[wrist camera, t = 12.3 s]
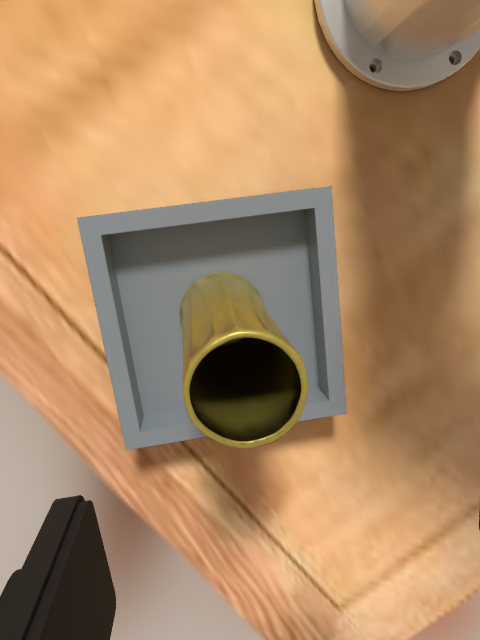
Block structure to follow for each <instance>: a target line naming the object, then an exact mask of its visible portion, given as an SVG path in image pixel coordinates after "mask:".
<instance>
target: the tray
mask: <svg viewBox="0 0 480 640" xmlns="http://www.w3.org/2000/svg"><path fill="white" fill-rule="evenodd" d="M77 220H78V225H79V230H80V235H81V239H82V244H83V249H84V254H85V258H86V263H87V268H88V273H89V277H90V282H91V287H92V292H93V296H94V301H95V306H96V311H97V315H98V320H99V325H100V330H101V334H102V339H103V344H104V349H105V353H106V358H107V363H108V368H109V372H110V377H111V382H112V387H113V391H114V396H115V401H116V406H117V410H118V415H119V420H120V425H121V429H122V434H123V439H124V444H125V448H126V450H131V449H137V448H143V447H149V446H155V445H161V444H167V443H173V442H179V441H185V440H191V439H197V438H203V437H208V436H206V435H205V434H203V433H202V432H201V431H200V430H199V429H198V428H197V427H196V426H195V425H194V423H193V422H192V421H191V419H190V418H189V415H188V413H187V410H186V406H185V402H184V395H183V384H182V377H183V341H182V327H181V323H180V306H181V302H182V299H183V297H184V295H185V293H186V292H187V290H188V289H189V288H190V286H191V285H192V284H193V283H195V282H196V281H197V280H199V279H200V278H202V277H204V276H207V275H210V274H213V273H219V272H225V273H231V274H235V275H238V276H241V277H243V278H244V279H246V280H247V281H249V282H250V283H251V284H252V285H253V286H254V287H255V288H256V289H257V291H258V292H259V293H260V295H261V297H262V301H263V303H264V306H265V308H266V310H267V312H268V314H269V315H270V316H271V318H272V319H273V320H274V321H275V323H276V324H277V326H278V327H279V329H280V330H281V332H282V333H283V335H284V336H285V337H286V338H287V340H288V341H289V342H290V344H291V345H292V346H293V348H294V349H295V350H296V351H298V353H299V354H300V356H301V358H302V360H303V362H304V366H305V370H306V375H307V380H308V395H307V399H306V403H305V406H304V409H303V412H302V414H301V416H300V418H299V419H298V421H297V422H299V421H305V420H311V419H317V418H323V417H329V416H335V415H341V414H347V413H346V398H345V383H344V367H343V352H342V337H341V322H340V307H339V292H338V277H337V262H336V247H335V231H334V216H333V201H332V186H329V187H321V188H313V189H305V190H297V191H289V192H281V193H273V194H264V195H256V196H248V197H240V198H232V199H224V200H216V201H208V202H200V203H192V204H184V205H176V206H168V207H160V208H152V209H144V210H136V211H128V212H120V213H112V214H104V215H96V216H88V217H80V218H77Z"/></svg>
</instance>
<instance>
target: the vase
mask: <svg viewBox="0 0 480 640" xmlns="http://www.w3.org/2000/svg"><path fill="white" fill-rule="evenodd" d="M180 323H181V327H182V341H183V377H182V384H183V395H184V402H185V406H186V410H187V413H188V415H189V418H190V419H191V421H192V422H193V423H194V425H195V426H196V427H197V428H198V429H199V430H200V431H201V432H202V433H203V434H205V435H206V436H208V437H209V438H211V439H213V440H214V441H216V442H218V443H220V444H223V445H226V446H230V447H235V448H245V449H246V448H254V447H258V446H261V445H265V444H268V443H271V442H273V441H275V440H278V439H279V438H281V437H282V436H283V435H285V434H286V433H287V432H288V431H289V430H290V429H291V428H292V427H293V426H294V425H295V424H296V422H297V421H298V419H299V418H300V416H301V414H302V412H303V409H304V406H305V403H306V399H307V395H308V380H307V375H306V370H305V366H304V362H303V360H302V358H301V356H300V354H299V353H298V351H296V350H295V349H294V348H293V346H292V345H291V344H290V342H289V341H288V340H287V338H286V337H285V336H284V335H283V333H282V332H281V330H280V329H279V327H278V326H277V324H276V323H275V321H274V320H273V319H272V318H271V316H270V315H269V314H268V312H267V310H266V308H265V306H264V303H263V301H262V297H261V295H260V293H259V292H258V291H257V289H256V288H255V287H254V286H253V285H252V284H251V283H250V282H249V281H247V280H246V279H244V278H243V277H241V276H238V275H235V274H231V273H225V272H219V273H213V274H210V275H207V276H204V277H202V278H200V279H199V280H197V281H196V282H195V283H193V284H192V285H191V286H190V288H189V289H188V290H187V292H186V293H185V295H184V297H183V299H182V302H181V306H180Z"/></svg>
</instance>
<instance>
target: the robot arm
mask: <svg viewBox="0 0 480 640" xmlns="http://www.w3.org/2000/svg"><path fill="white" fill-rule="evenodd" d="M314 1H315V6H316V12H317V17H318V21H319V24H320V26H321V29H322V32H323V34H324V37H325V39H326V41H327V43H328V44H329V46H330V48H331V49H332V51H333V53H334V54H335V56H336V57H337V58H338V59H339V60H340V62H341V63H342V64H343V65H344V66H345V67H346V68H347V69H348V70H349V71H350V72H352V73H353V74H354V75H356V76H357V77H358V78H359V79H361V80H363V81H365V82H367V83H369V84H371V85H373V86H375V87H378V88H383V89H387V90H392V91H411V90H416V89H421V88H425V87H428V86H430V85H432V84H435V83H437V82H439V81H441V80H443V79H445V78H447V77H448V76H450V75H452V74H453V73H455V72H457V71H458V70H459V69H460V68H461V67H463V66H464V65H465V64H466V63H467V62H468V61H470V60H471V59H472V57H473V56H474V55H475V54H476V53H477V51H478V50H479V49H480V0H314ZM449 59H450V61H449ZM450 62H451V63H450ZM369 66H371V67H372V68H373V70H374V71H373V72H372V71H370V68H369ZM479 530H480V513H479ZM115 610H116V595H115V590H114V586H113V582H112V578H111V574H110V570H109V566H108V562H107V558H106V554H105V550H104V546H103V542H102V538H101V534H100V530H99V526H98V522H97V518H96V513H95V510H94V506H93V503H92V501H85V500H84V498H83V496H81V495H79V496H74V497H67V498H61V499H56V500H55V501H54V502H53V504H52V506H51V508H50V510H49V512H48V514H47V516H46V518H45V520H44V523H43V525H42V527H41V529H40V531H39V533H38V535H37V537H36V540H35V541H34V544H33V546H32V548H31V550H30V552H29V554H28V556H27V558H26V560H25V563H24V565H23V567H22V569H19V570H16V571H15V572H14V573H13V574H12V576H11V577H10V578H9V580H8V582H7V584H6V586H5V588H4V590H3V592H2V594H1V596H0V640H110V636H111V631H112V626H113V621H114V616H115Z"/></svg>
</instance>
